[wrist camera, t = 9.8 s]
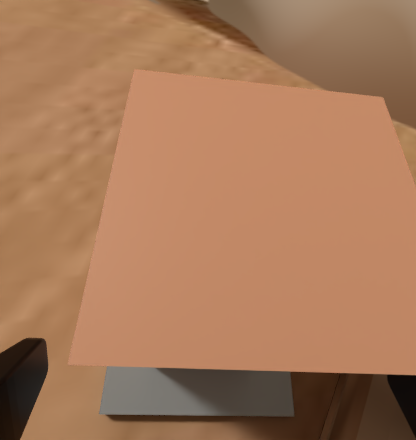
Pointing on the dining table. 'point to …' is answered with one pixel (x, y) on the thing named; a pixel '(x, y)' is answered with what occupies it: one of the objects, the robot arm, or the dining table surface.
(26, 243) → the dining table surface
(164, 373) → the slate mat
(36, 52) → the dining table surface
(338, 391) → the walnut channel
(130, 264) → the terracotta block
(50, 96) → the dining table surface
